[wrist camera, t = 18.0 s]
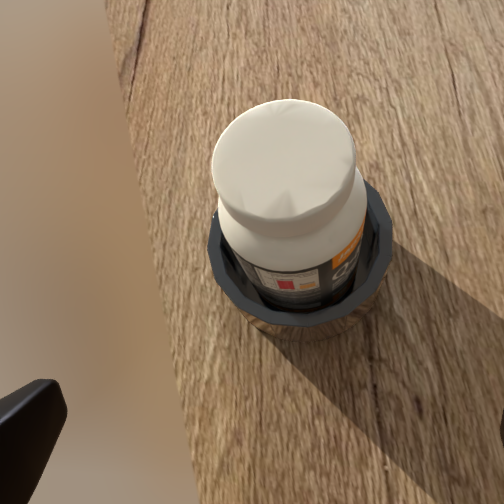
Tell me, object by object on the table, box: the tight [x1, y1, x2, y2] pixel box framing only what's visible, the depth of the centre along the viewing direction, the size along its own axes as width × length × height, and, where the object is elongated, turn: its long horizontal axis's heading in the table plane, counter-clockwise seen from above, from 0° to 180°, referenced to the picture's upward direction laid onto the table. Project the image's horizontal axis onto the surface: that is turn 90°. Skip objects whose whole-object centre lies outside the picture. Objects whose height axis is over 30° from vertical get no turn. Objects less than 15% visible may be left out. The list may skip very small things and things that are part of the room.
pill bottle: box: [212, 99, 367, 314], centre depth 18 cm, size 6×6×10 cm
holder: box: [207, 179, 393, 342], centre depth 21 cm, size 8×8×4 cm
